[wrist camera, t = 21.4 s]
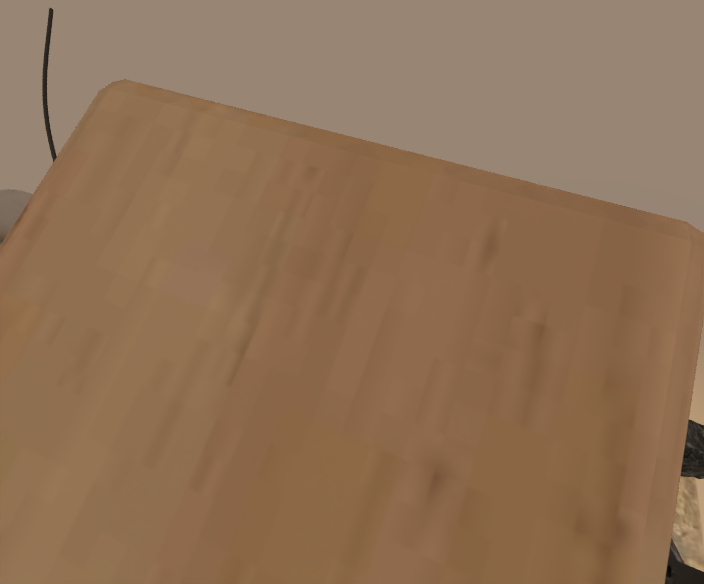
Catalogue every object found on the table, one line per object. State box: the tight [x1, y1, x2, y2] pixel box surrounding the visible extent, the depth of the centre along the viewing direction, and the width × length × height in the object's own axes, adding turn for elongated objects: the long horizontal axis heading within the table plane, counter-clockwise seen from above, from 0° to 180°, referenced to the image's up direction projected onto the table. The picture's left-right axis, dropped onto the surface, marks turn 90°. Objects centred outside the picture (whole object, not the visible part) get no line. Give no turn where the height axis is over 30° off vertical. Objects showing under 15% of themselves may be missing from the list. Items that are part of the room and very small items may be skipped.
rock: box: [680, 420, 704, 479], centre depth 46 cm, size 8×7×10 cm
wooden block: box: [0, 80, 704, 584], centre depth 14 cm, size 10×10×20 cm
